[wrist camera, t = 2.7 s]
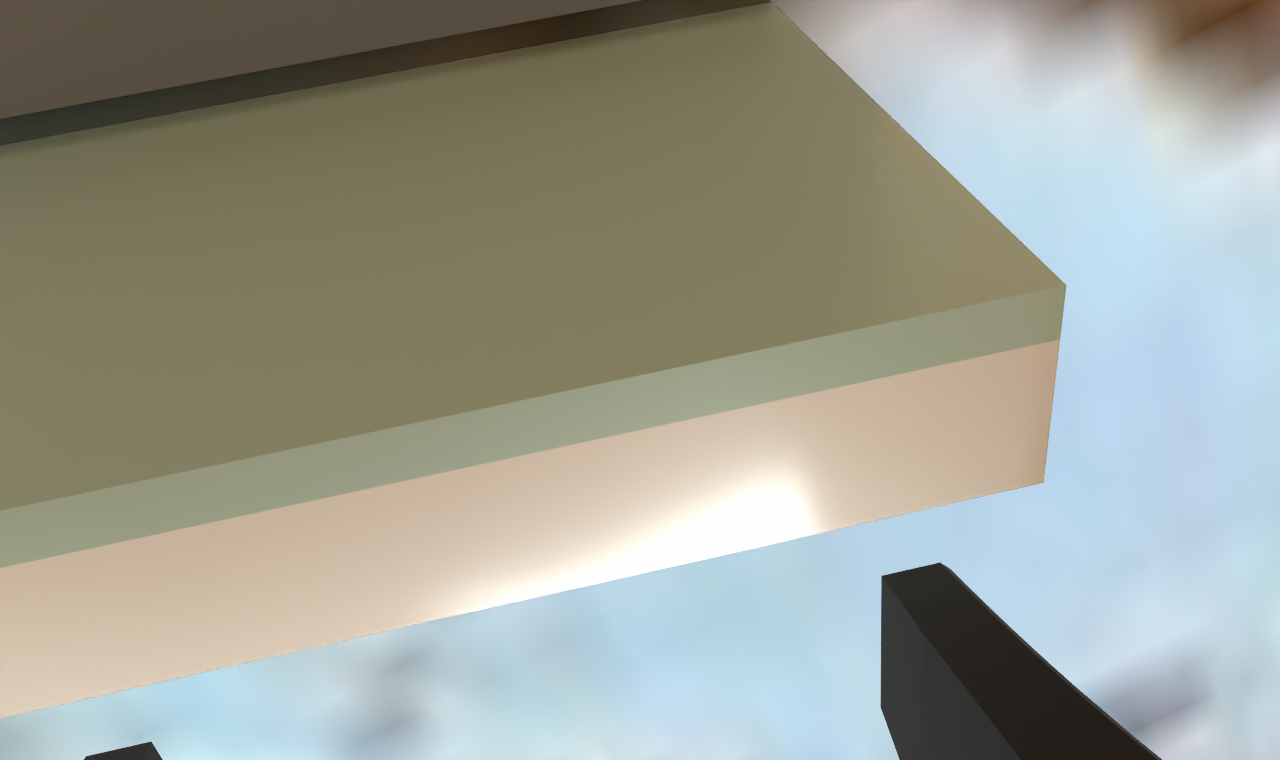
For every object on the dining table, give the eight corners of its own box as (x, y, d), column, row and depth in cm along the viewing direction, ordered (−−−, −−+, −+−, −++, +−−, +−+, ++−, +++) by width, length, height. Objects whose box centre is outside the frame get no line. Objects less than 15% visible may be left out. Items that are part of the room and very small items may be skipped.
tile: (0, 289, 12) (-308, 788, 7) (-71, 157, 11) (-489, 615, 6) (777, 137, 13) (1043, 482, 8) (770, 0, 12) (1067, 285, 7)
